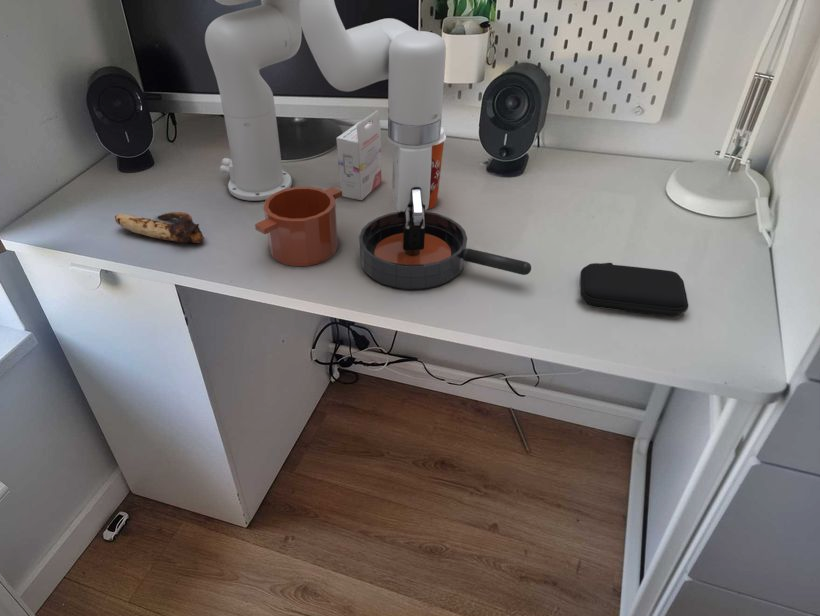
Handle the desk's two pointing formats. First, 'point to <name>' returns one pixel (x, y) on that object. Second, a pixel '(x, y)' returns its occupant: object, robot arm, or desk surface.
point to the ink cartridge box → (360, 158)
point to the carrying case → (633, 289)
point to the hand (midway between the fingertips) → (410, 232)
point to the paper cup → (436, 169)
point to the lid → (395, 253)
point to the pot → (301, 225)
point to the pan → (412, 274)
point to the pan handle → (496, 261)
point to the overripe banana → (163, 227)
